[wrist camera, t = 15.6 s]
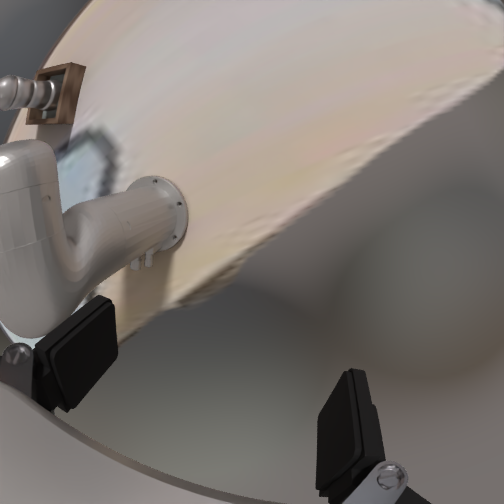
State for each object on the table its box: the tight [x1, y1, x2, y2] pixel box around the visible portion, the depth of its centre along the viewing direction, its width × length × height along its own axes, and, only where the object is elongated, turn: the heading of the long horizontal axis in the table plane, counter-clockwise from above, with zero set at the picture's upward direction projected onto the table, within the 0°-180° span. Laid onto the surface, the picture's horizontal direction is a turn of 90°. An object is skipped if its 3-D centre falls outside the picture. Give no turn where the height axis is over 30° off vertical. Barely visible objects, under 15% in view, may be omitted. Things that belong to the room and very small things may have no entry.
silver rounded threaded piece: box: [0, 75, 63, 111], centre depth 30 cm, size 6×7×20 cm
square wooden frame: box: [26, 62, 86, 125], centre depth 38 cm, size 12×12×4 cm
